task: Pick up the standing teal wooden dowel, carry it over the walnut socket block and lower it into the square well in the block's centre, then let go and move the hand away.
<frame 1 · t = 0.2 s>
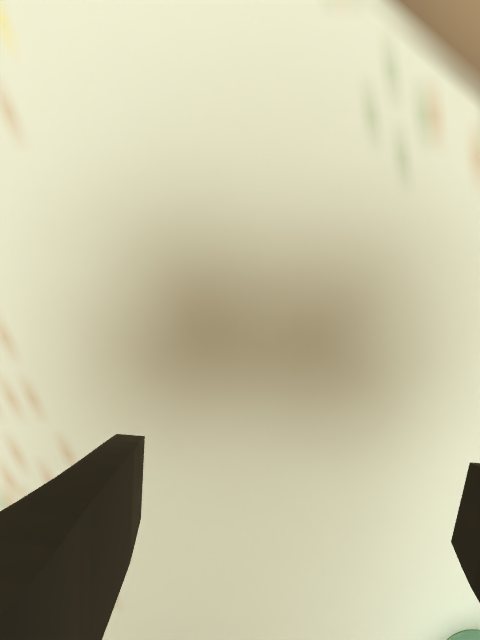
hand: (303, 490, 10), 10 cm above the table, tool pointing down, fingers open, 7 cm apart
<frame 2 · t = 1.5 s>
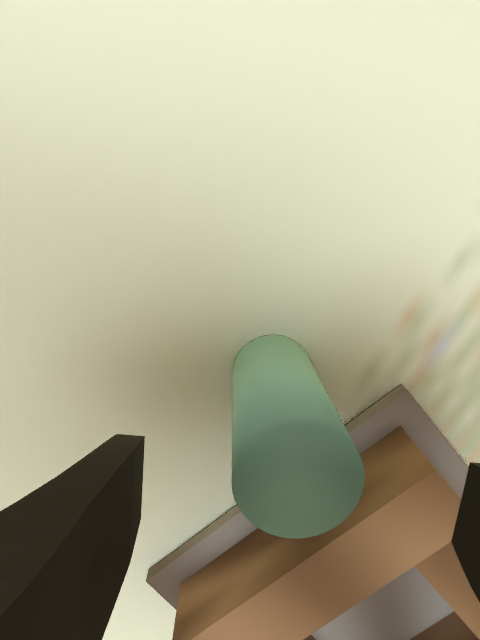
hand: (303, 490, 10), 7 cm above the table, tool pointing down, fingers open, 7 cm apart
socket: (363, 584, 19), on the table
peg: (272, 373, 17), on the table
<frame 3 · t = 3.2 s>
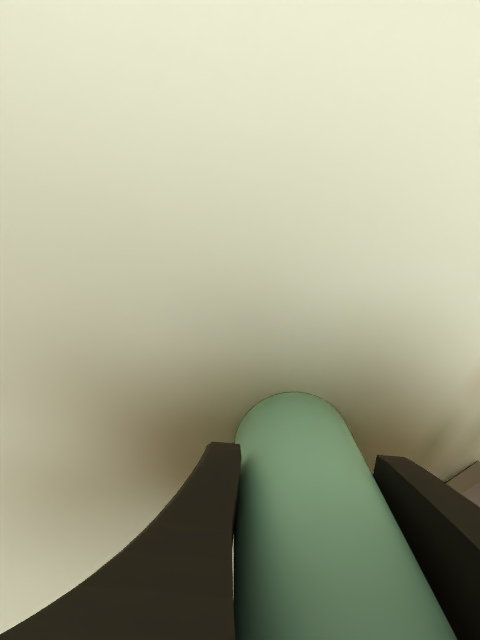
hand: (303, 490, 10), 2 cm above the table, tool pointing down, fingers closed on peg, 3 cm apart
peg: (292, 445, 12), on the table, touching gripper
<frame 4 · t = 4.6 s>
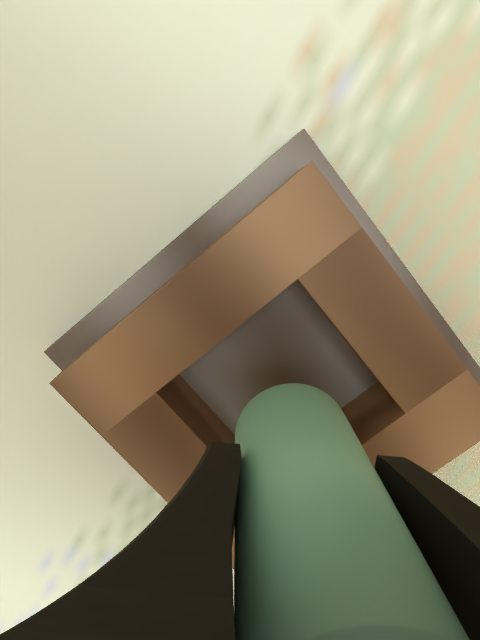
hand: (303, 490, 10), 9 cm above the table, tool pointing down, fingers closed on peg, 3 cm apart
socket: (273, 367, 19), on the table
peg: (291, 436, 12), point 7 cm above the table, touching gripper
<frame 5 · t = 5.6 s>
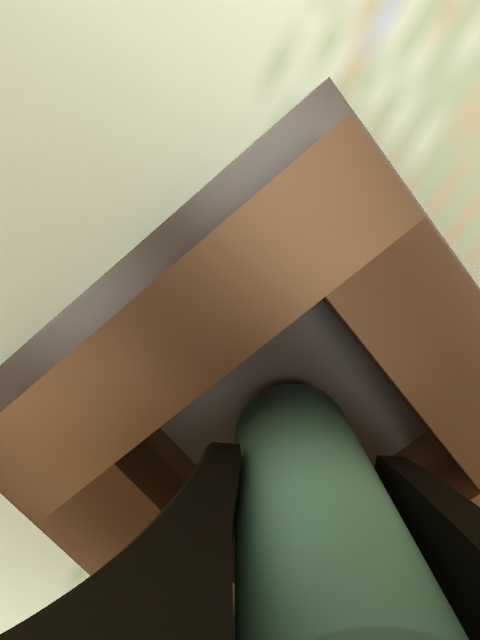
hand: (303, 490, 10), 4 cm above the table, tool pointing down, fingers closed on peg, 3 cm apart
socket: (283, 410, 14), on the table
peg: (291, 437, 12), point 2 cm above the table, touching gripper
when the fingers open (4 cm above the table, at t = 6.3 s): peg drops 1 cm, resting on socket.
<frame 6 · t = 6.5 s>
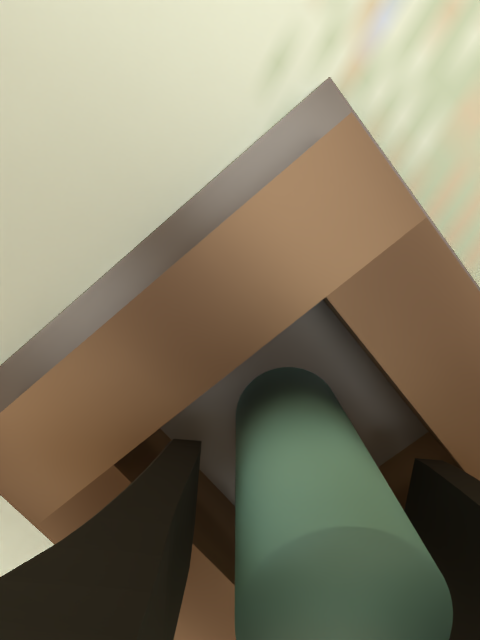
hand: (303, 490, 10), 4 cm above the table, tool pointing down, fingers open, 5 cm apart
socket: (284, 411, 14), on the table
peg: (287, 416, 13), point 1 cm above the table, touching socket
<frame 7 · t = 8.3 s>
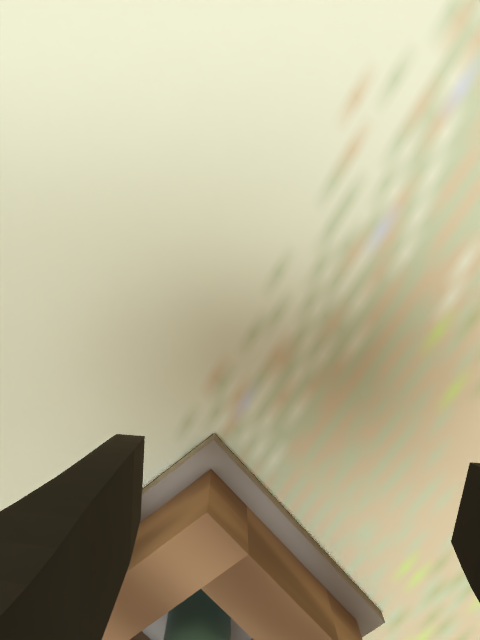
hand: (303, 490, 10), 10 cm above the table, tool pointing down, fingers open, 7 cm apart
socket: (200, 600, 22), on the table
peg: (200, 608, 22), point 1 cm above the table, touching socket
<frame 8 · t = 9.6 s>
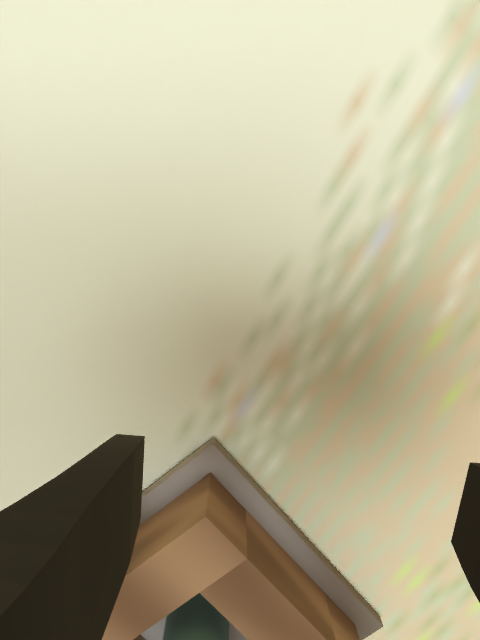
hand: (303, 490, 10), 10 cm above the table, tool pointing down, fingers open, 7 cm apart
socket: (199, 603, 22), on the table
peg: (198, 611, 22), point 1 cm above the table, touching socket
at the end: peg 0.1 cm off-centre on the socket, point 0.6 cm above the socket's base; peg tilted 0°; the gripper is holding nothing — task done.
